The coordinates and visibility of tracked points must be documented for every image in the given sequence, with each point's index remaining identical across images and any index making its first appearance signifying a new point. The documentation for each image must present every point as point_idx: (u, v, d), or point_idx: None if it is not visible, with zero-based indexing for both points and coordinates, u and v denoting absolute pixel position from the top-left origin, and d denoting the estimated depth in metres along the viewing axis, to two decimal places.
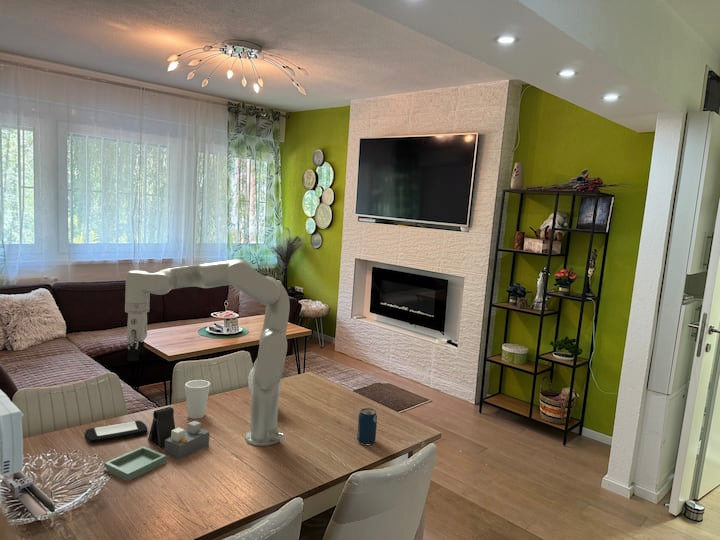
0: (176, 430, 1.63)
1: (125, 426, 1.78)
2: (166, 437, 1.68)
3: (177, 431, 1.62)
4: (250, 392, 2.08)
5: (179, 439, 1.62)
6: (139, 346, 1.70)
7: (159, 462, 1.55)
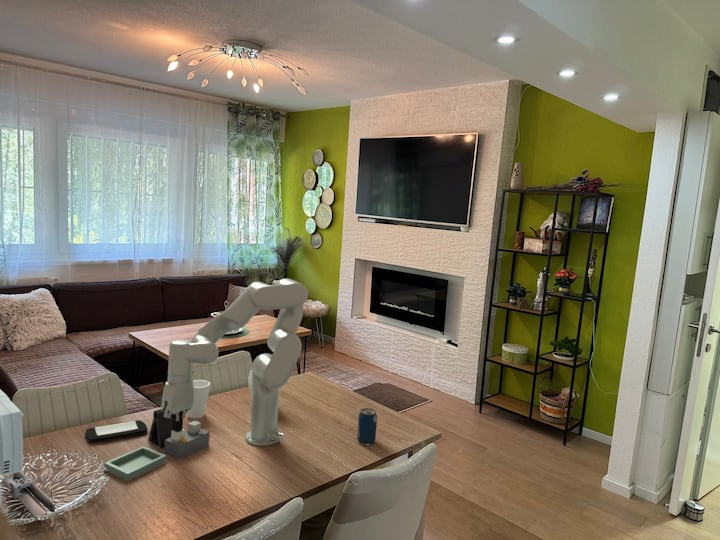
0: None
1: (125, 426, 1.78)
2: (166, 437, 1.68)
3: None
4: (250, 392, 2.08)
5: (179, 439, 1.62)
6: None
7: (159, 462, 1.55)
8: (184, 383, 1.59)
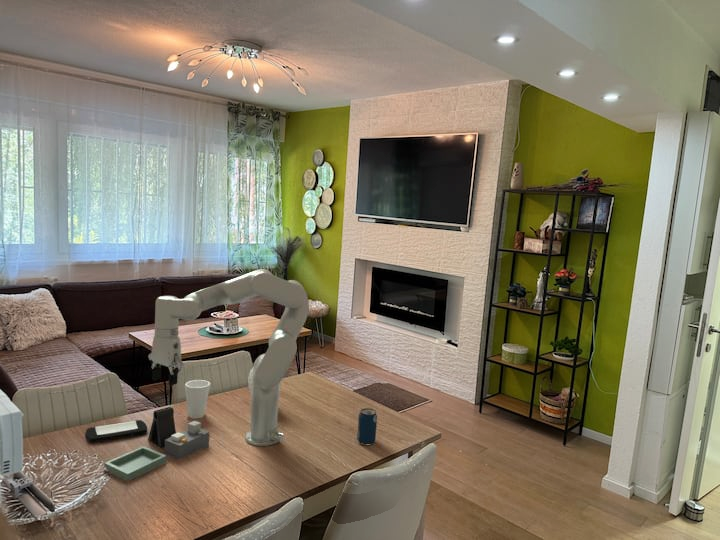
0: (176, 435, 1.63)
1: (125, 425, 1.78)
2: (166, 437, 1.68)
3: (177, 436, 1.62)
4: (250, 392, 2.08)
5: None
6: (158, 373, 1.71)
7: (159, 462, 1.55)
8: (155, 336, 1.65)
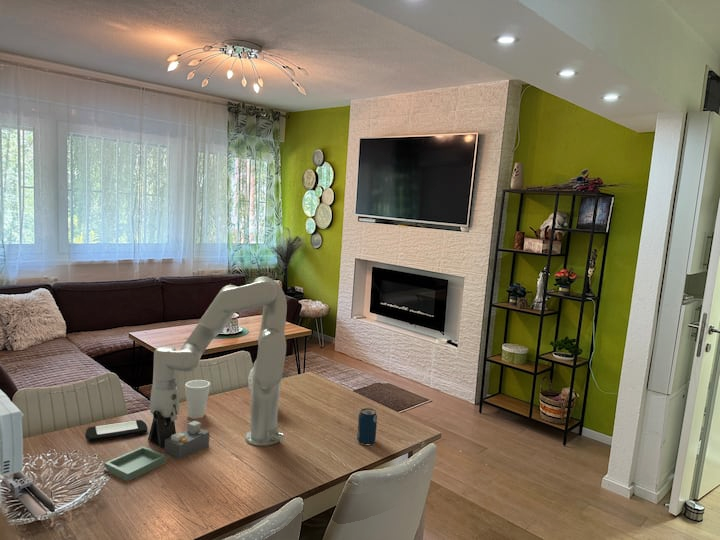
0: (176, 435, 1.63)
1: (126, 425, 1.78)
2: (166, 437, 1.68)
3: (177, 436, 1.62)
4: (250, 392, 2.08)
5: None
6: None
7: (159, 462, 1.55)
8: (153, 387, 1.66)
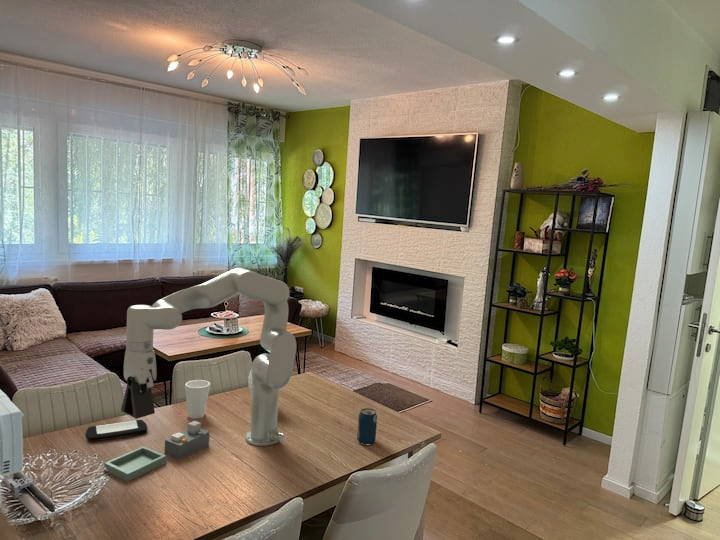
0: (176, 435, 1.63)
1: (126, 425, 1.79)
2: (142, 406, 1.49)
3: (177, 436, 1.62)
4: (250, 392, 2.08)
5: None
6: None
7: (159, 462, 1.55)
8: (126, 349, 1.47)
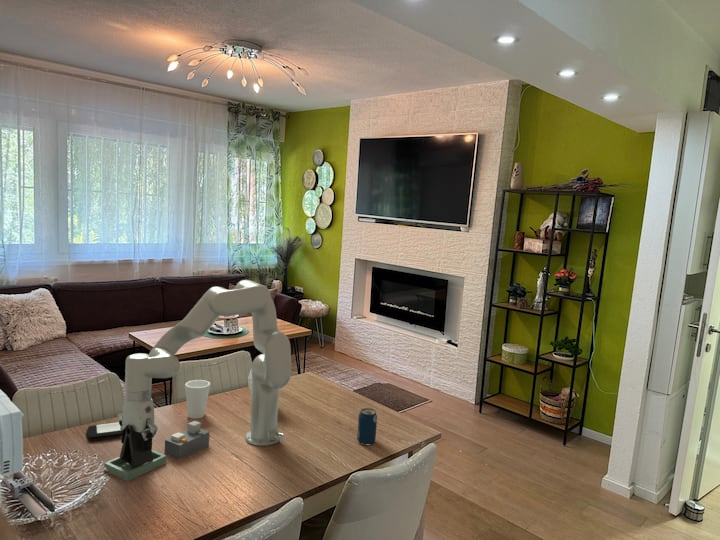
0: (176, 435, 1.63)
1: None
2: (140, 454, 1.51)
3: (177, 436, 1.62)
4: (250, 392, 2.08)
5: None
6: None
7: (159, 462, 1.55)
8: (125, 399, 1.49)
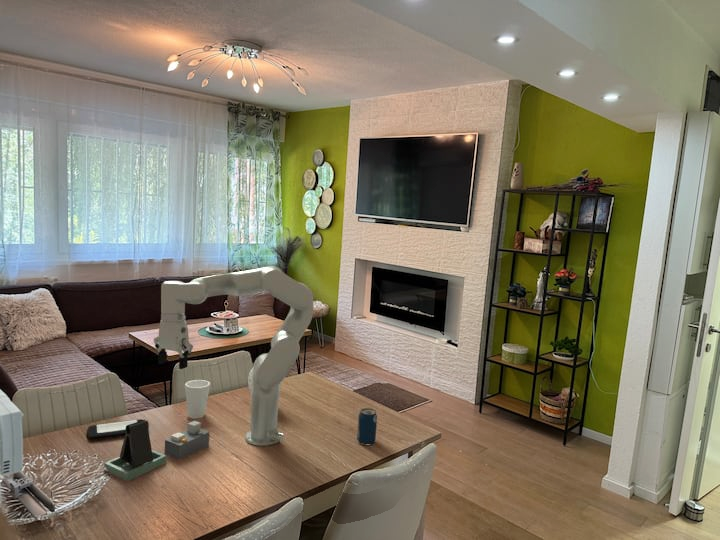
0: (176, 435, 1.63)
1: (126, 424, 1.79)
2: (140, 454, 1.51)
3: (177, 436, 1.62)
4: (250, 392, 2.08)
5: None
6: (164, 357, 1.70)
7: (159, 462, 1.55)
8: (162, 321, 1.64)
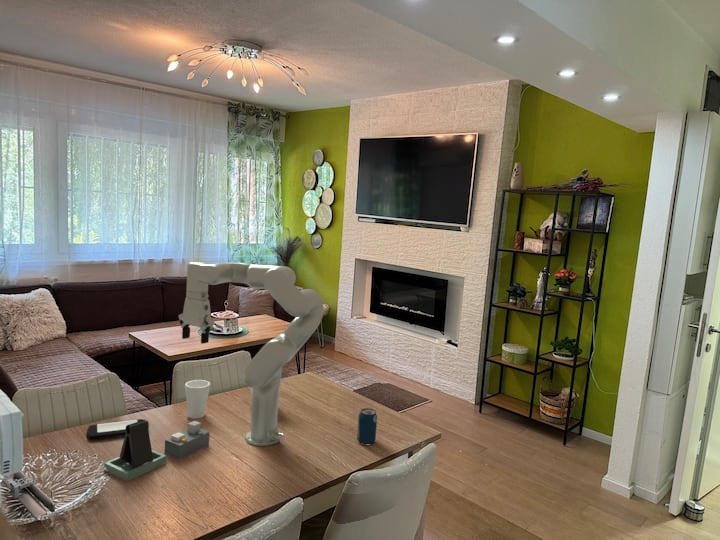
0: (176, 435, 1.63)
1: (127, 424, 1.79)
2: (140, 454, 1.51)
3: (177, 436, 1.62)
4: (250, 392, 2.08)
5: None
6: (187, 332, 1.84)
7: (159, 462, 1.55)
8: (187, 298, 1.78)
